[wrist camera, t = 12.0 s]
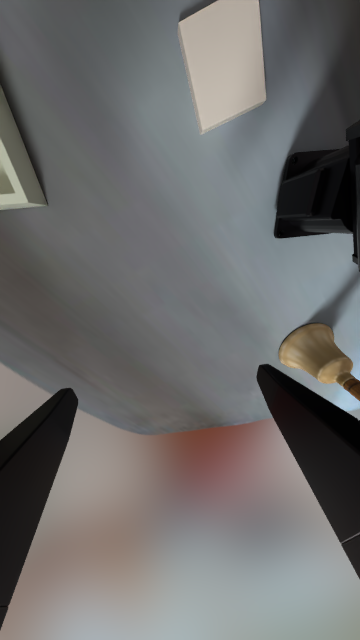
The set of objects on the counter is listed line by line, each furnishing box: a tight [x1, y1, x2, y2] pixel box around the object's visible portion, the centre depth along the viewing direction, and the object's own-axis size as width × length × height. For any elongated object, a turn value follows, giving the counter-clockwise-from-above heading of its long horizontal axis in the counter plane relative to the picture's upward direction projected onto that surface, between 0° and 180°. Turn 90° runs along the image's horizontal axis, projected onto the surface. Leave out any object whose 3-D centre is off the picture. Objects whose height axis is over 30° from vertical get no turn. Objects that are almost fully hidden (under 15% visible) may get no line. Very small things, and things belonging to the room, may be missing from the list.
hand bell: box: [279, 323, 360, 401], centre depth 19 cm, size 8×8×16 cm
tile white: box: [178, 0, 266, 135], centre depth 12 cm, size 5×5×1 cm
